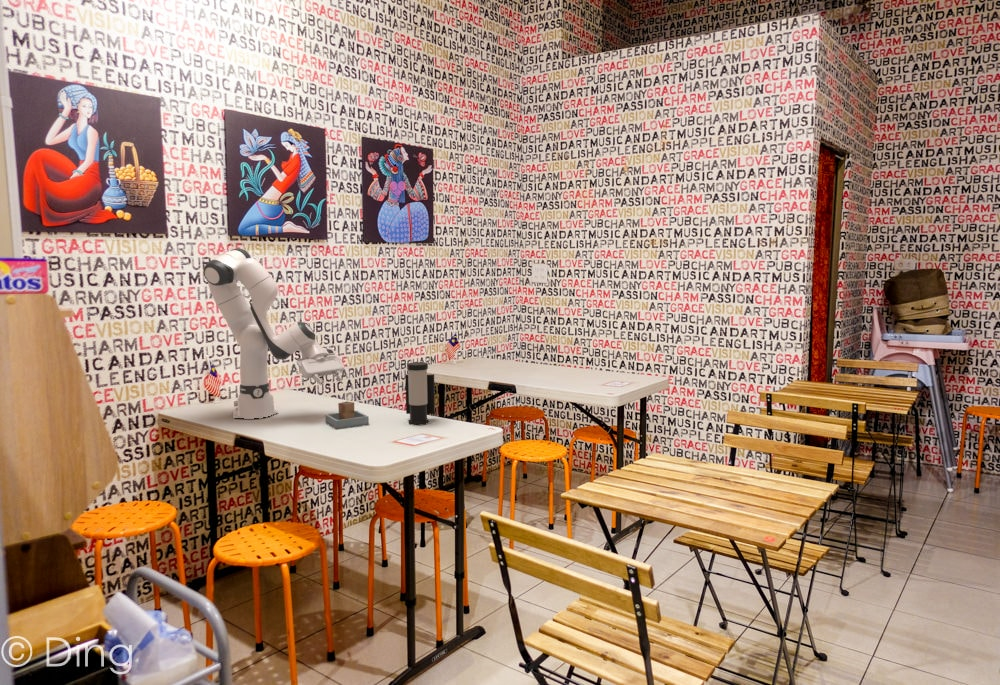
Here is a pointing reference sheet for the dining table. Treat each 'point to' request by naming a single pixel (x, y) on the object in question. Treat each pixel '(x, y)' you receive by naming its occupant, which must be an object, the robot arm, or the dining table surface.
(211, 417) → the dining table surface
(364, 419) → the tray
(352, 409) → the walnut block
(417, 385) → the light fixture
